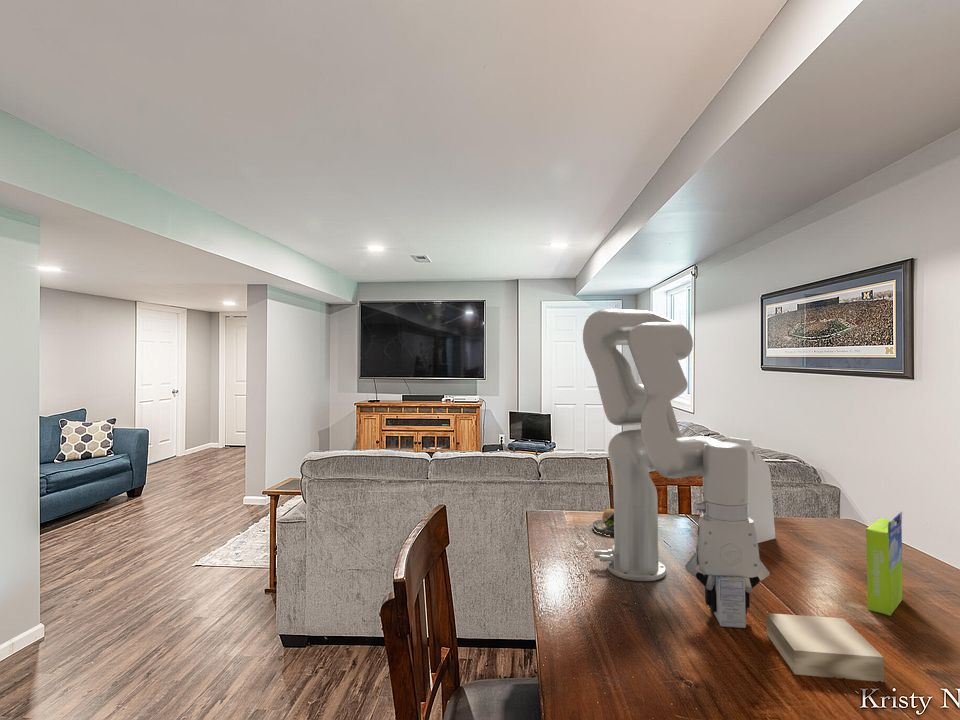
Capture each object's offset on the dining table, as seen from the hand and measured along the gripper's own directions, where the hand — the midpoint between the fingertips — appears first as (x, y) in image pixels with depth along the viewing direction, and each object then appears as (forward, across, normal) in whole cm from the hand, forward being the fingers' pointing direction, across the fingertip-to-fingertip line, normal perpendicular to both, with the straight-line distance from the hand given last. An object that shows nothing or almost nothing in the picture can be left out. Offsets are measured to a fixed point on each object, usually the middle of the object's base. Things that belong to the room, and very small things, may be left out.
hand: (727, 609), depth 98 cm
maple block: (+2, +11, -11) cm, 16 cm away
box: (+2, +31, +10) cm, 33 cm away
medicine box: (+2, 0, 0) cm, 2 cm away
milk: (+2, +16, +49) cm, 52 cm away
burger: (+2, -17, +49) cm, 52 cm away
